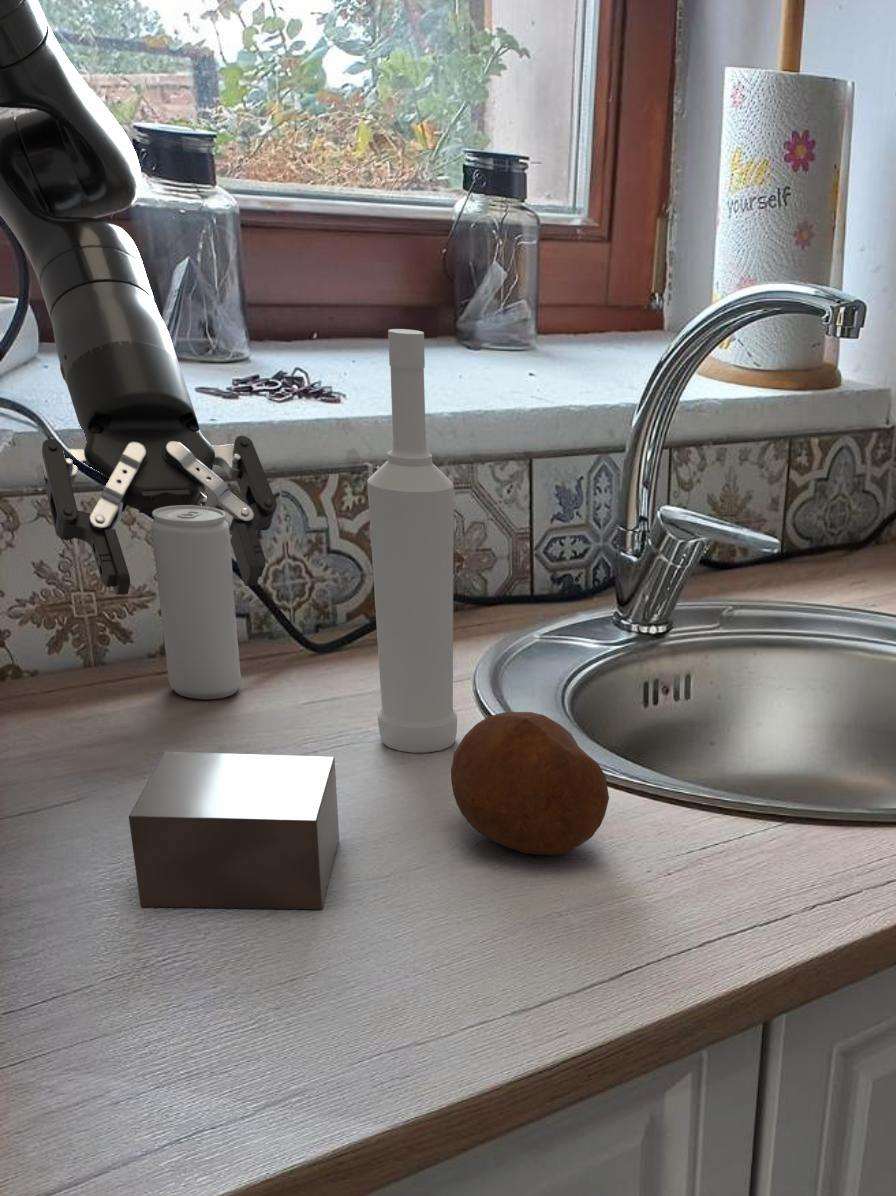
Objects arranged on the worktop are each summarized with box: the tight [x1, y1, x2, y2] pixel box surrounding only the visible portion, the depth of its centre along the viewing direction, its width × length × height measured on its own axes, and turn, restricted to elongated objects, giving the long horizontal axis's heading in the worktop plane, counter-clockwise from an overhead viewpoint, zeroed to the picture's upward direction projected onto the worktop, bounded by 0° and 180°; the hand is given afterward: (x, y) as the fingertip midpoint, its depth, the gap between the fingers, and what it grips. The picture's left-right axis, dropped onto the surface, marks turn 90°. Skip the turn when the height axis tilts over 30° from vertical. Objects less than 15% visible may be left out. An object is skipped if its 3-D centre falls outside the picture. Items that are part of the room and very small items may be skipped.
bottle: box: [366, 328, 458, 754], centre depth 95 cm, size 5×5×25 cm
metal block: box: [128, 751, 340, 910], centre depth 81 cm, size 9×9×5 cm
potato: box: [450, 711, 610, 856], centre depth 87 cm, size 8×11×8 cm
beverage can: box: [150, 505, 242, 700], centre depth 103 cm, size 5×5×12 cm
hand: (190, 584), depth 103 cm, fingers open, 8 cm apart
